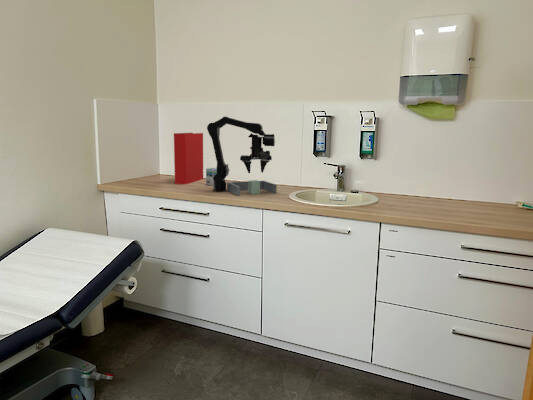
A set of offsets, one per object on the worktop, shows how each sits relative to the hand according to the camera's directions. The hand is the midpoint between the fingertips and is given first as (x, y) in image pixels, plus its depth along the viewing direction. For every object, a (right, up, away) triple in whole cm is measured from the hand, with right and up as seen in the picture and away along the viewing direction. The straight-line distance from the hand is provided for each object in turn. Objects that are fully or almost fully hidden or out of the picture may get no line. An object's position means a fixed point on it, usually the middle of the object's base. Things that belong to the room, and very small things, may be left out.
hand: (255, 172), depth 226 cm
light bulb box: (-27, -6, +26) cm, 38 cm away
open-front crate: (-2, -11, +2) cm, 12 cm away
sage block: (-1, -12, -1) cm, 12 cm away
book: (-46, -3, +37) cm, 59 cm away
